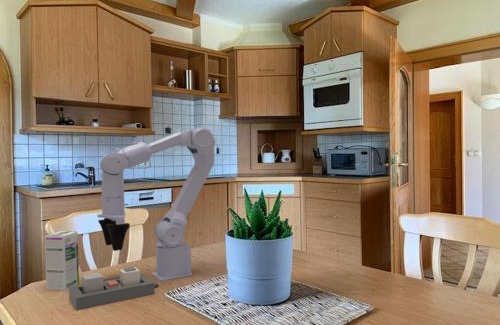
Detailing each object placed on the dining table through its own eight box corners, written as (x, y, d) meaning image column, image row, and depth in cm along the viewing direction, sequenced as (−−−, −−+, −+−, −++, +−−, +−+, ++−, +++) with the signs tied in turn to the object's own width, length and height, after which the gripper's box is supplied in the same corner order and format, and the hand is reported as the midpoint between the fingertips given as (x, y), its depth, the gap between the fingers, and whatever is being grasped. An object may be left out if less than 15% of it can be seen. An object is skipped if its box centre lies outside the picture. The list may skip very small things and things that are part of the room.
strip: (151, 283, 105) (151, 261, 105) (163, 292, 98) (163, 269, 97) (69, 299, 94) (69, 274, 94) (76, 311, 86) (75, 284, 86)
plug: (135, 289, 100) (135, 265, 100) (140, 294, 97) (139, 268, 97) (119, 292, 98) (119, 267, 98) (124, 297, 95) (123, 271, 94)
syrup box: (65, 291, 99) (64, 235, 99) (45, 290, 100) (44, 234, 100) (79, 284, 105) (78, 230, 104) (60, 283, 106) (59, 230, 106)
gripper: (91, 195, 108) (92, 244, 109) (104, 200, 96) (104, 255, 96) (117, 194, 112) (118, 241, 112) (132, 198, 100) (133, 251, 100)
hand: (113, 247), depth 105 cm, fingers open, 7 cm apart
